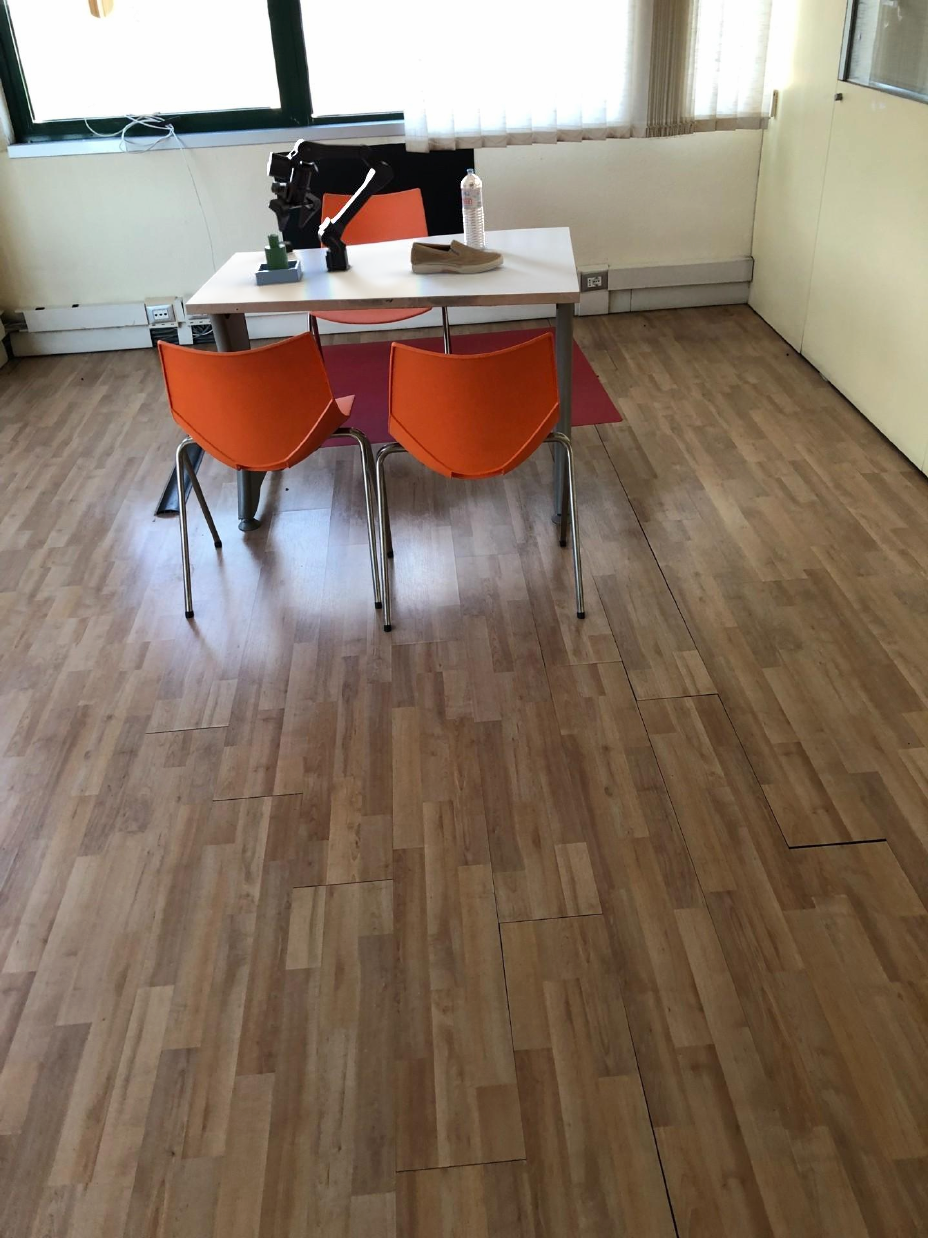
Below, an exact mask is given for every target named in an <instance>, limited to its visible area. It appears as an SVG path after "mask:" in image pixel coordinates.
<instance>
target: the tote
mask: <svg viewBox="0 0 928 1238" xmlns="http://www.w3.org/2000/svg"><path fill="white" fill-rule="evenodd" d="M288 265H289V269H281V270H271V271H268V266H267V262H260V263H259V264H258V266H257V268H256V269H255V272H254V275H255V281H256V285H257V286H266V285H268V286H269V285H277V284H287V283H298V282H300V280H301V277H302V273H303V270H302V263H301V259H293V260H288Z"/></svg>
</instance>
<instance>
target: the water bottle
mask: <svg viewBox="0 0 928 1238" xmlns="http://www.w3.org/2000/svg"><path fill="white" fill-rule="evenodd" d="M466 171H467V175H465V177H464V178H463V179H462V181H461V183H460V189H461V199H462V200H461V201H462V217H463V218H462V221H463V237H464V244H465V245H467V246H469V247H472V248H476V249H479V250H482V251H483V250H484V249H485V248H486V238H485V222H484V207H483V194H482V187H483V186H482V180H480V178H479V177H478V176H477V175H475V174H474V169H473V168H468V169H467V170H466Z"/></svg>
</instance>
